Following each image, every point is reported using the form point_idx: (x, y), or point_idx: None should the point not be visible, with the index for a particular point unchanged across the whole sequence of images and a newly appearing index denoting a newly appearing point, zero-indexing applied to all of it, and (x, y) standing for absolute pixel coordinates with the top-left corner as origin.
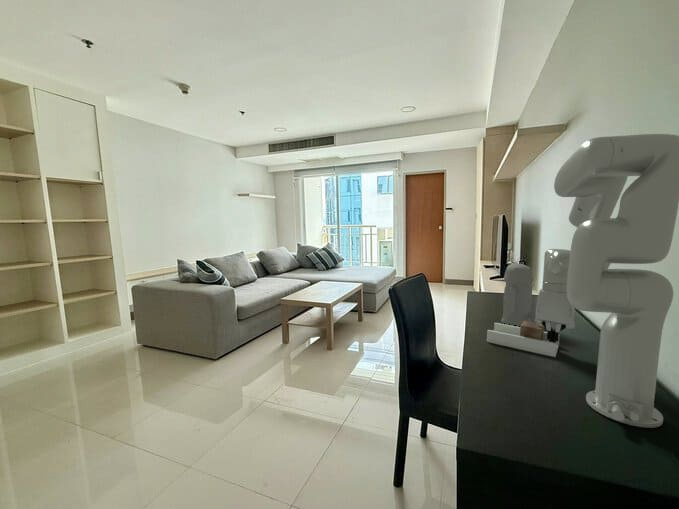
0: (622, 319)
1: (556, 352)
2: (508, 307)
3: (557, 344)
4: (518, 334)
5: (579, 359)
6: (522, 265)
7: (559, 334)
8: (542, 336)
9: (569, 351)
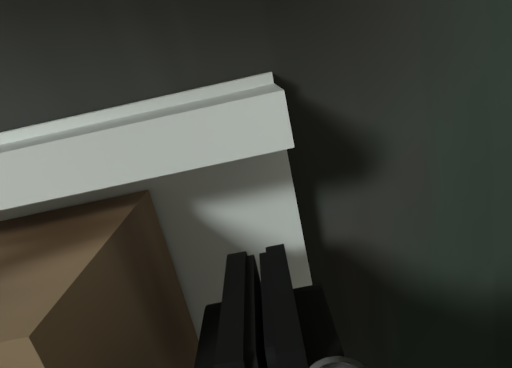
0: None
1: None
2: None
3: (278, 152)
4: None
5: (467, 285)
6: None
7: (284, 94)
8: (160, 336)
9: (382, 164)
